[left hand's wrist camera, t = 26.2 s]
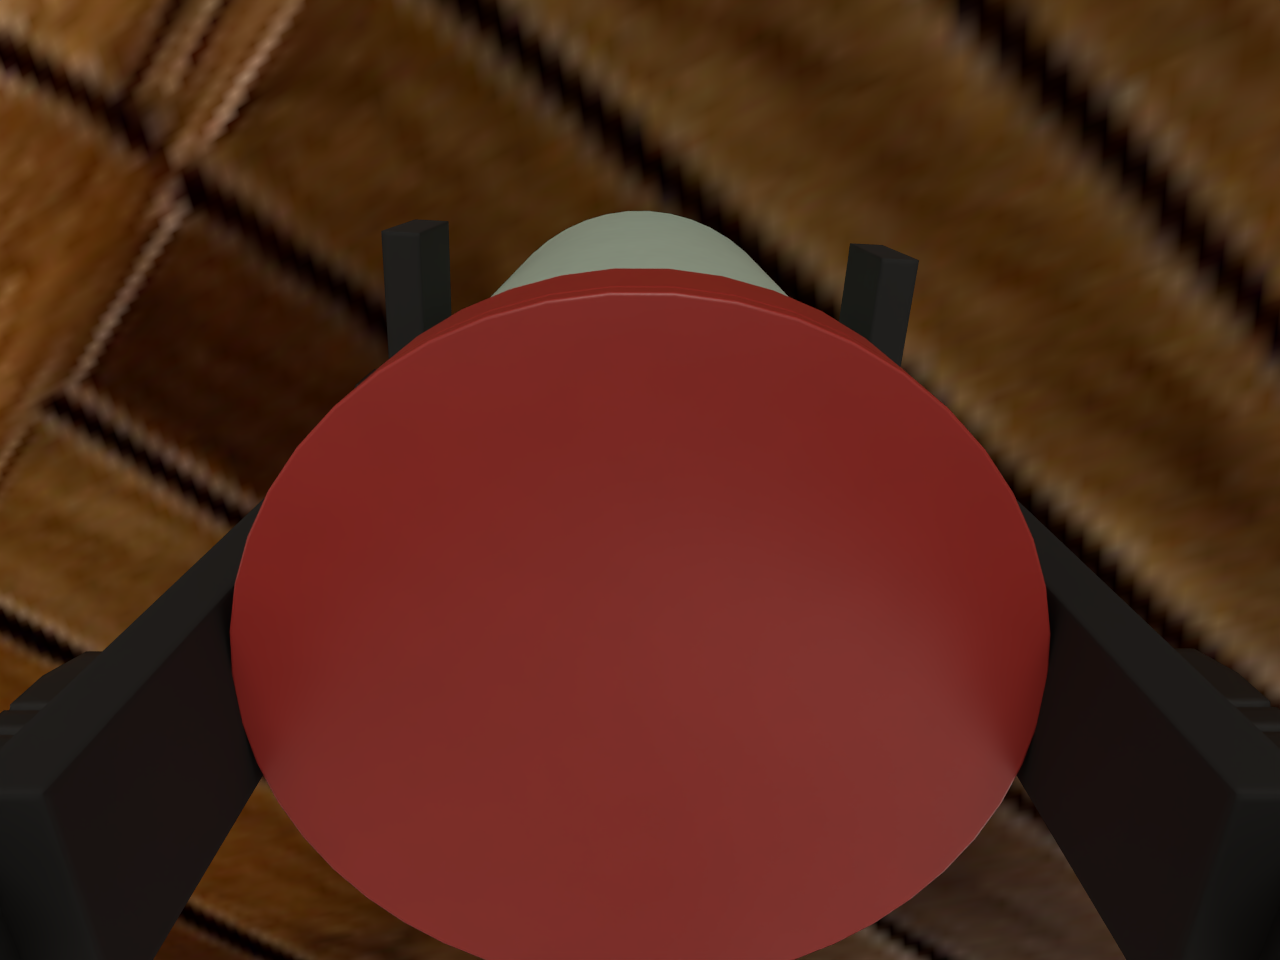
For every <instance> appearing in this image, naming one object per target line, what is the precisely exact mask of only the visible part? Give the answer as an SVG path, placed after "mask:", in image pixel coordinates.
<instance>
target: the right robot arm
mask: <svg viewBox="0 0 1280 960" xmlns="http://www.w3.org/2000/svg"><path fill="white" fill-rule="evenodd" d="M381 232H382V249H383V265H384V282H385V299H386V316H387V333H388V350H389V359H390V358H391V357H393V356H394V355H395V354H396V353H397V352H399V351H400V350H401V349H402V348H404V347H405V346H406V345H407V344H408V343H410V342H411V341H412V340H413V339H415V338H416V337H417V336H419V335H420V334H422V333H424V332H425V331H427V330H429V329H430V328H432V327H434V326H435V325H437V324H439V323H440V322H442V321H444V320H445V319H447V318H449V317H450V316H451V291H450V259H449V226H448V221H432V220H413V221H410V222H407V223H404V224H401V225H398V226H395V227H392V228H389V229H386V230H383V231H381ZM918 262H919V260H917V259H914V258H912V257H909V256H907V255H905V254H902V253H900V252H898V251H895V250H893V249H890V248H888V247H886V246H883V245H869V244H851V243H850V249H849V256H848V263H847V270H846V277H845V284H844V291H843V298H842V305H841V312H840V319H839V322H840V323H842V324H843V325H845V326H846V327H848V328H850V329H851V330H853V331H855V332H856V333H858V334H859V335H861V336H863V337H864V338H866V339H867V340H868V341H869V342H871V343H872V344H873V345H874V346H875V347H877V348H878V349H879V350H880V351H881V352H883V353H884V354H885V355H886V356H887V357H889V358H890V359H891V360H892V361H893V362H895V363H896V364H897V365H898V366H899V367H901V361H902V355H903V349H904V343H905V338H906V332H907V326H908V320H909V314H910V309H911V303H912V297H913V291H914V285H915V280H916V274H917V268H918ZM376 370H377V369H374V370H373V371H372V372H370V373H369V374H368V375H367V376H366V377H365V378H363V379H362V380H361V381H360V382H359V383H358V384H356V386H355V388H356V387H357V386H358V385H359V384H360V383H362V382H363V381H364V380H365V379H366V378H367V377H369V376H370V375H371V374H372V373H373V372H374V371H376Z"/></svg>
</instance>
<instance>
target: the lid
mask: <svg viewBox="0 0 1280 960" xmlns="http://www.w3.org/2000/svg"><path fill="white" fill-rule="evenodd" d="M230 646H231V665H232V676H233V681H234V686H235V691H236V695H237V700H238V705H239V709H240V714H241V719H242V723H243V727H244V730H245V732H246V735H247V738H248V740H249V743H250V746H251V749H252V751H253V754H254V757H255V759H256V762H257V764H258V766H259V768H260V770H261V772H262V773H263V775H264V777H265V779H266V781H267V783H268V785H269V786H270V788H271V790H272V792H273V794H274V796H275V798H276V799H277V801H278V803H279V804H280V805H281V807H282V808H283V810H284V811H285V812H286V814H287V815H288V816H289V818H290V819H291V821H292V822H293V823H294V825H295V826H296V828H297V829H298V830H299V832H300V833H301V834H302V836H303V837H304V838H305V839H306V840H307V841H308V843H309V844H310V845H311V846H312V847H313V848H314V849H315V850H316V851H317V852H318V853H319V854H320V855H321V856H322V857H323V859H324V860H325V861H326V862H327V863H328V864H329V865H330V866H331V867H332V868H333V869H334V870H335V871H336V872H337V873H339V874H340V875H341V876H342V877H343V878H344V879H346V880H347V881H348V882H349V883H350V884H352V885H353V886H354V887H355V888H356V889H358V890H359V891H360V892H361V893H362V894H363V895H365V896H366V897H367V898H368V899H370V900H371V901H373V902H374V903H376V904H377V905H379V906H380V907H382V908H383V909H385V910H386V911H388V912H389V913H391V914H392V915H394V916H395V917H397V918H398V919H400V920H401V921H403V922H404V923H406V924H408V925H410V926H412V927H414V928H416V929H418V930H420V931H422V932H423V933H425V934H427V935H429V936H431V937H433V938H435V939H437V940H439V941H441V942H443V943H445V944H447V945H450V946H452V947H455V948H457V949H460V950H462V951H465V952H467V953H470V954H472V955H475V956H477V957H480V958H482V959H485V960H795V959H797V958H800V957H802V956H805V955H807V954H810V953H812V952H815V951H818V950H820V949H823V948H825V947H828V946H830V945H833V944H835V943H837V942H839V941H841V940H843V939H845V938H847V937H849V936H850V935H852V934H854V933H856V932H858V931H860V930H862V929H864V928H866V927H868V926H870V925H872V924H874V923H875V922H877V921H878V920H880V919H881V918H883V917H884V916H886V915H887V914H889V913H890V912H892V911H893V910H895V909H896V908H898V907H899V906H901V905H902V904H904V903H905V902H907V901H909V900H910V899H911V898H913V897H914V896H915V895H916V894H917V893H919V892H920V891H921V890H922V889H923V888H925V887H926V886H927V885H928V884H929V883H931V882H932V881H933V880H934V879H935V878H937V877H938V876H939V875H940V874H941V873H943V872H944V871H945V870H946V869H947V868H948V867H949V866H950V865H951V864H952V862H953V861H954V860H955V859H956V858H957V857H958V856H959V855H960V854H961V853H962V852H963V851H964V850H965V849H966V848H967V847H968V846H969V845H970V844H971V842H972V841H973V840H974V839H975V838H976V837H977V835H978V834H979V833H980V831H981V830H982V828H983V827H984V826H985V824H986V823H987V822H988V820H989V819H990V818H991V816H992V815H993V814H994V812H995V811H996V809H997V808H998V807H999V805H1000V804H1001V802H1002V801H1003V799H1004V797H1005V795H1006V793H1007V791H1008V790H1009V788H1010V786H1011V784H1012V782H1013V781H1014V779H1015V777H1016V775H1017V773H1018V771H1019V770H1020V768H1021V766H1022V764H1023V761H1024V759H1025V756H1026V753H1027V751H1028V748H1029V745H1030V743H1031V740H1032V738H1033V735H1034V732H1035V729H1036V725H1037V720H1038V716H1039V711H1040V706H1041V702H1042V697H1043V692H1044V688H1045V683H1046V678H1047V673H1048V663H1049V647H1050V625H1049V614H1048V604H1047V593H1046V585H1045V581H1044V577H1043V573H1042V570H1041V566H1040V562H1039V558H1038V554H1037V550H1036V547H1035V543H1034V539H1033V537H1032V534H1031V532H1030V530H1029V528H1028V525H1027V523H1026V521H1025V519H1024V516H1023V514H1022V512H1021V510H1020V507H1019V505H1018V503H1017V500H1016V498H1015V496H1014V494H1013V492H1012V490H1011V489H1010V487H1009V486H1008V484H1007V483H1006V481H1005V480H1004V478H1003V477H1002V475H1001V473H1000V472H999V470H998V469H997V467H996V466H995V464H994V463H993V461H992V459H991V458H990V456H989V455H988V453H987V452H986V450H985V449H984V448H983V447H982V446H981V444H980V443H979V442H978V441H977V440H976V439H975V438H974V437H973V435H972V434H971V433H970V432H969V431H968V430H967V429H966V428H965V426H964V425H963V424H962V423H961V422H960V421H959V420H958V419H957V417H956V416H955V415H954V414H953V413H952V412H951V411H950V410H949V409H948V408H947V407H946V406H945V405H944V404H943V403H941V402H940V401H939V400H938V399H937V398H936V397H934V396H933V395H932V394H931V393H930V392H929V391H927V390H926V389H925V388H924V387H923V386H922V385H920V384H919V383H918V382H917V381H916V380H915V379H914V378H912V377H911V376H910V375H909V374H908V373H907V372H905V371H904V370H903V369H902V368H901V367H899V366H898V365H897V364H896V363H895V362H893V361H892V360H891V359H890V358H889V357H887V356H886V355H885V354H884V353H883V352H881V351H880V350H879V349H878V348H877V347H875V346H874V345H873V344H872V343H871V342H869V341H868V340H867V339H866V338H864V337H863V336H861V335H859V334H858V333H856V332H855V331H853V330H851V329H850V328H848V327H846V326H845V325H843V324H842V323H840V322H838V321H837V320H835V319H833V318H832V317H830V316H828V315H827V314H825V313H824V312H822V311H820V310H817V309H815V308H813V307H811V306H808V305H806V304H804V303H801V302H799V301H797V300H794V299H792V298H790V297H788V296H785V295H783V294H781V293H778V292H776V291H774V290H770V289H767V288H763V287H760V286H756V285H752V284H749V283H745V282H742V281H738V280H735V279H731V278H727V277H724V276H718V275H711V274H704V273H697V272H689V271H682V270H675V269H633V268H614V269H606V270H599V271H591V272H583V273H576V274H568V275H561V276H557V277H553V278H550V279H546V280H542V281H539V282H535V283H531V284H527V285H524V286H520V287H516V288H513V289H509V290H507V291H504V292H502V293H500V294H497V295H495V296H493V297H490V298H488V299H486V300H483V301H481V302H479V303H476V304H474V305H471V306H469V307H467V308H464V309H462V310H460V311H459V312H457V313H455V314H454V315H452V316H450V317H449V318H447V319H445V320H444V321H442V322H440V323H439V324H437V325H435V326H434V327H432V328H430V329H429V330H427V331H425V332H424V333H422V334H420V335H419V336H417V337H416V338H415V339H413V340H412V341H411V342H410V343H408V344H407V345H406V346H405V347H404V348H402V349H401V350H400V351H399V352H397V353H396V354H395V355H394V356H393V357H391V358H390V359H389V360H388V361H386V362H385V363H384V364H383V365H382V366H380V367H379V368H378V369H377V370H376V371H374V372H373V373H372V374H371V375H370V376H369V377H367V378H366V379H365V380H364V381H363V382H362V383H360V384H359V385H358V386H357V387H356V388H355V389H354V390H352V391H351V392H350V393H349V394H348V395H347V396H346V397H344V398H343V399H342V400H341V401H340V402H338V403H337V404H336V405H335V406H334V407H333V408H332V409H331V410H330V411H329V412H328V413H327V415H326V416H325V417H324V418H323V419H322V420H321V421H320V422H319V423H318V424H317V426H316V427H315V428H314V429H313V430H312V431H311V432H310V433H309V434H308V435H307V437H306V438H305V439H304V440H303V441H302V442H301V443H300V444H299V445H298V446H297V448H296V449H295V451H294V452H293V454H292V455H291V457H290V458H289V460H288V461H287V463H286V464H285V466H284V468H283V469H282V471H281V472H280V474H279V475H278V477H277V478H276V480H275V481H274V483H273V484H272V486H271V487H270V489H269V490H268V492H267V494H266V497H265V499H264V501H263V503H262V505H261V508H260V510H259V512H258V514H257V516H256V519H255V521H254V523H253V525H252V528H251V530H250V532H249V534H248V536H247V540H246V544H245V547H244V551H243V555H242V558H241V562H240V566H239V569H238V573H237V577H236V580H235V586H234V595H233V604H232V614H231V623H230Z"/></svg>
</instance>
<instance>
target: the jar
mask: <svg viewBox="0 0 1280 960" xmlns="http://www.w3.org/2000/svg"><path fill="white" fill-rule="evenodd" d="M614 268H633V269H675V270H682V271H689V272H697V273H704V274H711V275H718V276H724V277H727V278H731V279H735V280H738V281H742V282H745V283H749V284H752V285H756V286H760V287H763V288H767V289H770V290H774V291H776V292H778V293H781V294H783V295H785V296H787V295H786V294H785V293H784V292H783V291H782V290H781V288H780V287H779V286H778V285H777V284H776V283H775V282H774V281H773V280H772V279H771V278H770V277H769V276H768V275H767V274H766V273H765V272H764V271H763V270H762V269H761V268H760V267H759V266H758V265H757V264H756V263H755V262H754V261H753V260H752V259H751V258H750V257H749V255H748V254H747V253H746V252H745V251H743V250H742V249H741V248H740V247H738V246H737V245H736V244H735V243H733V242H732V241H731V240H730V239H728V238H727V237H725V236H723V235H722V234H720V233H718V232H717V231H715V230H713V229H712V228H710V227H707V226H705V225H703V224H700V223H698V222H696V221H693V220H691V219H687V218H684V217H680V216H676V215H673V214H668V213H660V212H652V211H627V212H620V213H613V214H606V215H603V216H599V217H596V218H593V219H589V220H586V221H584V222H581V223H579V224H577V225H575V226H572V227H570V228H568V229H566V230H564V231H563V232H561V233H560V234H558V235H556V236H555V237H553V238H552V239H550V240H549V241H547V242H546V243H545V244H544V245H543V246H541V247H540V248H539V249H538V250H537V251H535V252H534V253H533V254H532V255H531V256H530V257H529V258H528V259H527V260H526V261H525V262H524V263H523V264H522V265H521V266H520V267H519V268H518V269H517V270H516V272H515V273H514V274H513V275H512V276H511V277H510V278H509V279H508V280H507V281H506V282H505V283H504V284H503V285H502V286H501V287H500V288H499V289H498V290H497V291H496V292H495V293H494V294H493V295H492V296H491V297H493V296H495V295H497V294H500V293H502V292H504V291H507V290H509V289H513V288H516V287H520V286H524V285H527V284H531V283H535V282H539V281H542V280H546V279H550V278H553V277H557V276H561V275H568V274H576V273H583V272H591V271H599V270H606V269H614Z"/></svg>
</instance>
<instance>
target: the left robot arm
mask: <svg viewBox="0 0 1280 960" xmlns="http://www.w3.org/2000/svg"><path fill="white" fill-rule="evenodd" d="M264 499H265V498H264ZM264 499H263V500H262V501H261V502H260V503H259V504H258V505H257V506H256V507H255V508H254V509H253V510H251V511H250V512H249V513H248V514H247V515H246V516H245V517H244V518H243V519H242V520H241V521H240V522H239V523H238V524H237V525H236V526H235V527H234V528H232V529H231V530H230V531H229V532H228V533H227V534H226V535H225V536H224V537H223V538H222V539H221V540H220V541H219V542H218V543H217V544H216V545H215V546H213V547H212V548H211V549H210V550H209V551H208V552H207V553H206V554H205V555H204V556H203V557H202V558H201V559H200V560H199V561H198V562H197V563H196V564H194V565H193V566H192V567H191V568H190V569H189V570H188V571H187V572H186V573H185V574H184V575H183V576H182V577H181V578H180V579H179V580H178V581H177V582H175V583H174V584H173V585H172V586H171V587H170V588H169V589H168V590H167V591H166V592H165V593H164V594H163V595H162V596H161V597H160V598H159V599H157V600H156V601H155V602H154V603H153V604H152V605H151V606H150V607H149V608H148V609H147V610H146V611H145V612H144V613H143V614H142V615H141V616H140V617H138V618H137V619H136V620H135V621H134V622H133V623H132V624H131V625H130V626H129V627H128V628H127V629H126V630H125V631H124V632H123V633H122V634H121V635H119V636H118V637H117V638H116V639H115V640H114V641H113V642H112V643H111V644H110V645H109V646H108V647H107V648H106V649H105V650H104V651H103V652H85V653H83V654H81V655H79V656H77V657H76V658H74V659H72V660H70V661H68V662H67V663H65V664H63V665H61V666H59V667H58V668H56V669H54V670H52V671H50V672H49V673H47V674H45V675H43V676H42V677H41V678H40V679H38V680H37V681H36V682H35V683H34V684H33V685H32V686H31V687H29V688H28V689H27V690H26V691H25V692H24V693H23V694H22V695H21V696H19V697H18V698H17V699H16V700H15V701H14V702H13V703H12V704H10V710H4V711H3V712H1V713H0V960H153V959H154V957H155V955H156V954H157V952H158V950H159V949H160V947H161V945H162V944H163V942H164V940H165V939H166V937H167V935H168V934H169V932H170V930H171V928H172V927H173V925H174V923H175V922H176V920H177V918H178V917H179V915H180V913H181V912H182V910H183V908H184V907H185V905H186V903H187V902H188V900H189V898H190V897H191V895H192V893H193V892H194V890H195V888H196V887H197V885H198V883H199V881H200V880H201V878H202V876H203V875H204V873H205V871H206V870H207V868H208V866H209V865H210V863H211V861H212V860H213V858H214V856H215V855H216V853H217V851H218V850H219V848H220V846H221V845H222V843H223V841H224V840H225V838H226V836H227V834H228V833H229V831H230V829H231V828H232V826H233V824H234V823H235V821H236V819H237V818H238V816H239V814H240V813H241V811H242V809H243V808H244V806H245V804H246V803H247V801H248V799H249V798H250V796H251V794H252V793H253V791H254V789H255V787H256V786H257V784H258V782H259V781H260V779H261V777H262V776H263V773H262V772H261V770H260V768H259V766H258V764H257V762H256V759H255V757H254V754H253V751H252V749H251V746H250V743H249V740H248V738H247V735H246V732H245V730H244V727H243V723H242V719H241V714H240V709H239V705H238V700H237V695H236V691H235V686H234V681H233V676H232V665H231V646H230V623H231V614H232V604H233V595H234V586H235V580H236V577H237V573H238V569H239V566H240V562H241V558H242V555H243V551H244V547H245V544H246V540H247V536H248V534H249V532H250V530H251V528H252V525H253V523H254V521H255V519H256V516H257V514H258V512H259V510H260V508H261V505H262V503H263V501H264ZM1017 503H1018V505H1019V507H1020V510H1021V512H1022V514H1023V516H1024V519H1025V521H1026V523H1027V525H1028V528H1029V530H1030V532H1031V534H1032V537H1033V539H1034V543H1035V547H1036V550H1037V554H1038V558H1039V562H1040V566H1041V570H1042V573H1043V577H1044V581H1045V585H1046V593H1047V604H1048V614H1049V625H1050V647H1049V663H1048V673H1047V678H1046V683H1045V688H1044V692H1043V697H1042V702H1041V706H1040V711H1039V716H1038V720H1037V725H1036V729H1035V732H1034V735H1033V738H1032V740H1031V743H1030V745H1029V748H1028V751H1027V753H1026V756H1025V759H1024V761H1023V764H1022V766H1021V768H1020V770H1019V771H1018V773H1017V777H1018V778H1019V780H1020V782H1021V783H1022V785H1023V787H1024V788H1025V790H1026V792H1027V793H1028V795H1029V797H1030V798H1031V800H1032V802H1033V803H1034V805H1035V807H1036V808H1037V810H1038V812H1039V814H1040V815H1041V817H1042V819H1043V820H1044V822H1045V824H1046V825H1047V827H1048V829H1049V830H1050V832H1051V834H1052V835H1053V837H1054V839H1055V840H1056V842H1057V844H1058V845H1059V847H1060V849H1061V850H1062V852H1063V854H1064V856H1065V857H1066V859H1067V861H1068V862H1069V864H1070V866H1071V867H1072V869H1073V871H1074V872H1075V874H1076V876H1077V877H1078V879H1079V881H1080V882H1081V884H1082V886H1083V887H1084V889H1085V891H1086V892H1087V894H1088V896H1089V897H1090V899H1091V901H1092V903H1093V904H1094V906H1095V908H1096V909H1097V911H1098V913H1099V914H1100V916H1101V918H1102V919H1103V921H1104V923H1105V924H1106V926H1107V928H1108V929H1109V931H1110V933H1111V934H1112V936H1113V938H1114V939H1115V941H1116V943H1117V944H1118V946H1119V948H1120V950H1121V951H1122V953H1123V955H1124V956H1125V958H1126V960H1280V710H1279V709H1278V708H1277V707H1271V706H1270V701H1269V700H1268V699H1267V698H1266V697H1264V696H1263V695H1262V694H1261V693H1260V692H1259V691H1258V690H1257V689H1255V688H1254V687H1253V686H1252V685H1251V684H1250V683H1249V682H1248V681H1246V680H1245V679H1244V678H1243V677H1242V676H1241V675H1240V674H1238V673H1237V672H1235V671H1233V670H1232V669H1230V668H1228V667H1226V666H1224V665H1223V664H1221V663H1219V662H1217V661H1215V660H1214V659H1212V658H1210V657H1208V656H1206V655H1204V654H1203V653H1201V652H1199V651H1197V650H1195V649H1174V648H1173V647H1172V646H1170V645H1169V644H1168V643H1167V642H1166V641H1165V640H1164V639H1163V638H1162V637H1161V636H1160V635H1159V634H1158V633H1157V632H1156V631H1155V630H1154V629H1153V628H1151V627H1150V626H1149V625H1148V624H1147V623H1146V622H1145V621H1144V620H1143V619H1142V618H1141V617H1140V616H1139V615H1138V614H1137V613H1136V612H1135V611H1134V610H1132V609H1131V608H1130V607H1129V606H1128V605H1127V604H1126V603H1125V602H1124V601H1123V600H1122V599H1121V598H1120V597H1119V596H1118V595H1117V594H1116V593H1115V592H1113V591H1112V590H1111V589H1110V588H1109V587H1108V586H1107V585H1106V584H1105V583H1104V582H1103V581H1102V580H1101V579H1100V578H1099V577H1098V576H1097V575H1096V574H1094V573H1093V572H1092V571H1091V570H1090V569H1089V568H1088V567H1087V566H1086V565H1085V564H1084V563H1083V562H1082V561H1081V560H1080V559H1079V558H1078V557H1077V556H1075V555H1074V554H1073V553H1072V552H1071V551H1070V550H1069V549H1068V548H1067V547H1066V546H1065V545H1064V544H1063V543H1062V542H1061V541H1060V540H1059V539H1058V538H1056V537H1055V536H1054V535H1053V534H1052V533H1051V532H1050V531H1049V530H1048V529H1047V528H1046V527H1045V526H1044V525H1043V524H1042V523H1041V522H1040V521H1039V520H1037V519H1036V518H1035V517H1034V516H1033V515H1032V514H1031V513H1030V512H1029V511H1028V510H1027V509H1026V508H1025V507H1024V506H1023V505H1022V504H1021V503H1020V502H1018V501H1017Z"/></svg>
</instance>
